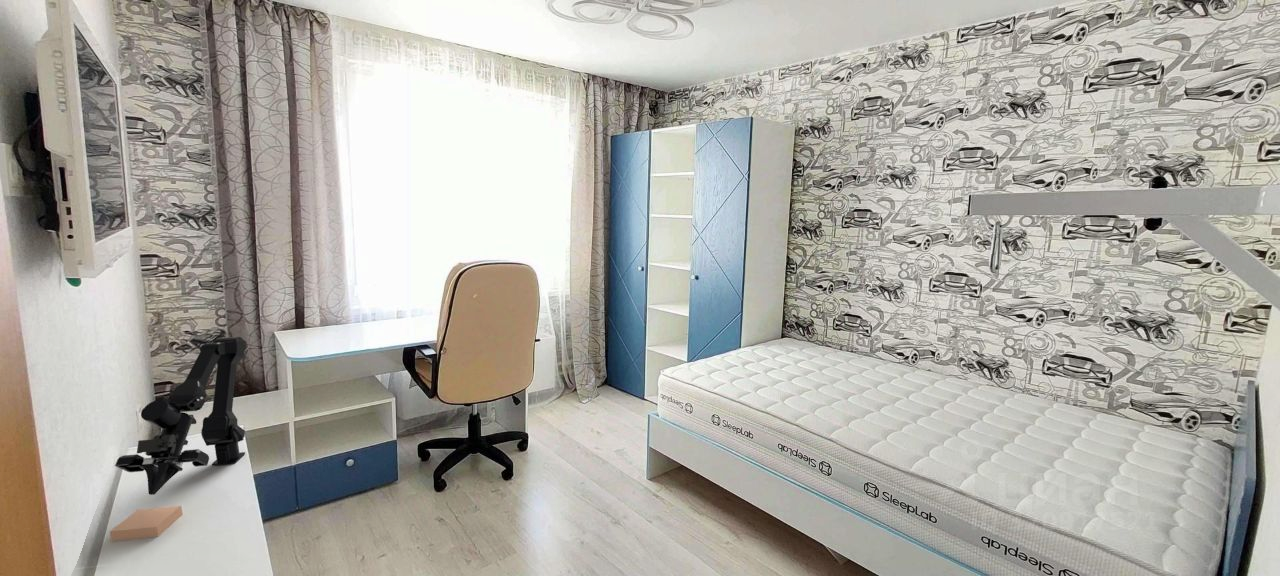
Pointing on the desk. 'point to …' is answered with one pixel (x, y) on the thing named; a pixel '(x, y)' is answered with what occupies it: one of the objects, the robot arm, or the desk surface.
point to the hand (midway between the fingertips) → (151, 494)
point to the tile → (146, 523)
